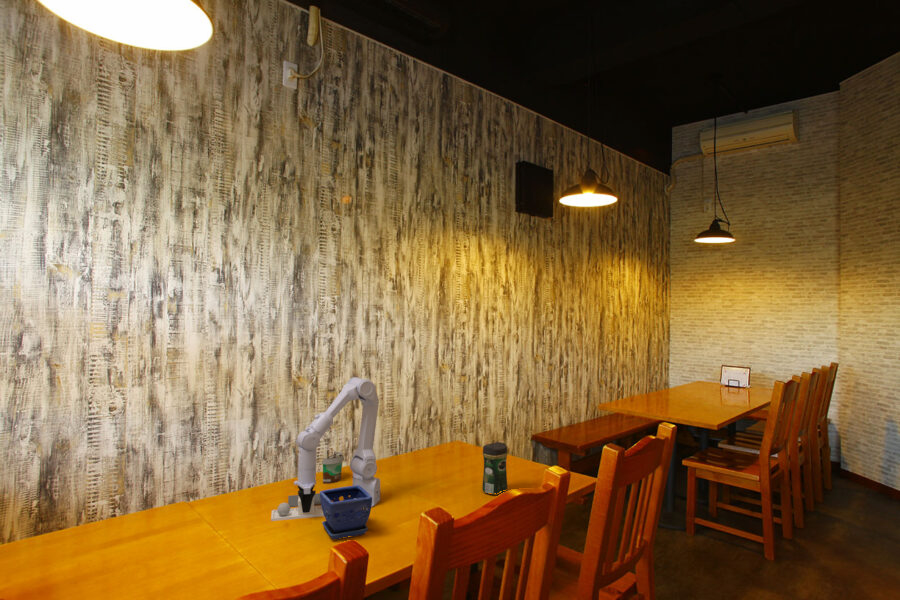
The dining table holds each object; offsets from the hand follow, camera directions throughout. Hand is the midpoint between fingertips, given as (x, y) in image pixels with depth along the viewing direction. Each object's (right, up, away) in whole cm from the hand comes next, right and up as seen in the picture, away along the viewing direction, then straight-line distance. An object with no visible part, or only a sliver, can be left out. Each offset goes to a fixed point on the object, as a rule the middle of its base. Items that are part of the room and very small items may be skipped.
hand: (305, 509), depth 173 cm
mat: (-4, -2, +12) cm, 13 cm away
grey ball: (-7, -1, -2) cm, 7 cm away
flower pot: (+16, -2, -14) cm, 21 cm away
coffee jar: (+65, -4, +26) cm, 70 cm away
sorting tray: (0, -2, 0) cm, 2 cm away
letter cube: (0, -1, 0) cm, 1 cm away
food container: (+2, -3, +36) cm, 37 cm away
